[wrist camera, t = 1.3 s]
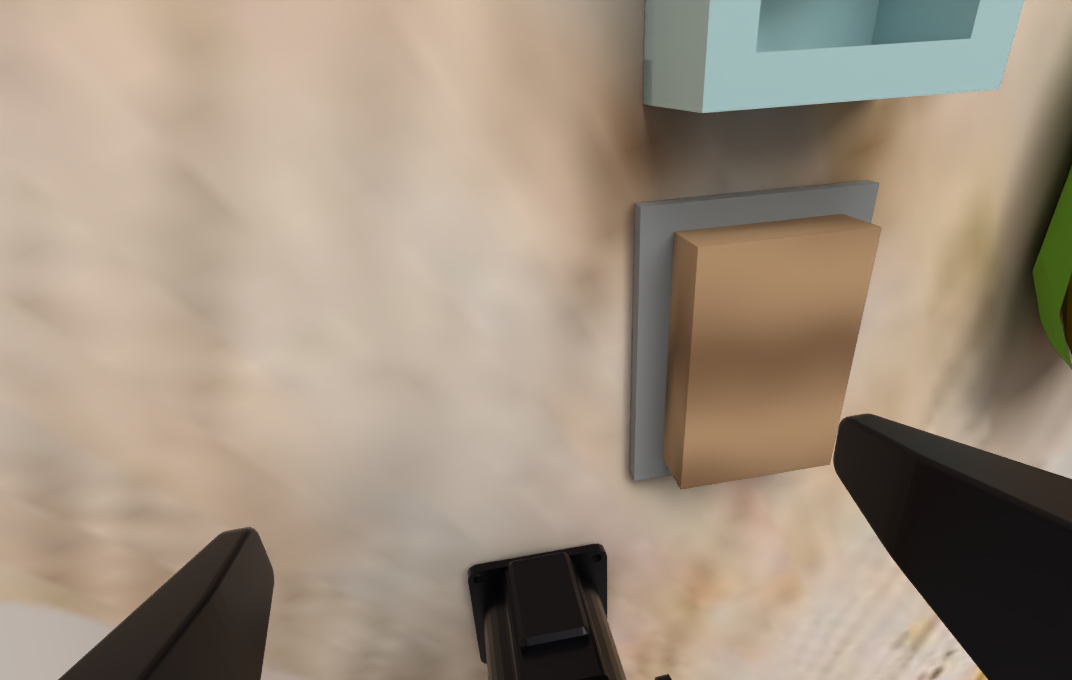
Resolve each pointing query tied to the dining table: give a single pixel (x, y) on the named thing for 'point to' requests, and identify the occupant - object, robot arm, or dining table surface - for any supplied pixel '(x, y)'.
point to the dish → (820, 50)
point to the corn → (1057, 275)
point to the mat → (656, 277)
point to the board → (762, 344)
